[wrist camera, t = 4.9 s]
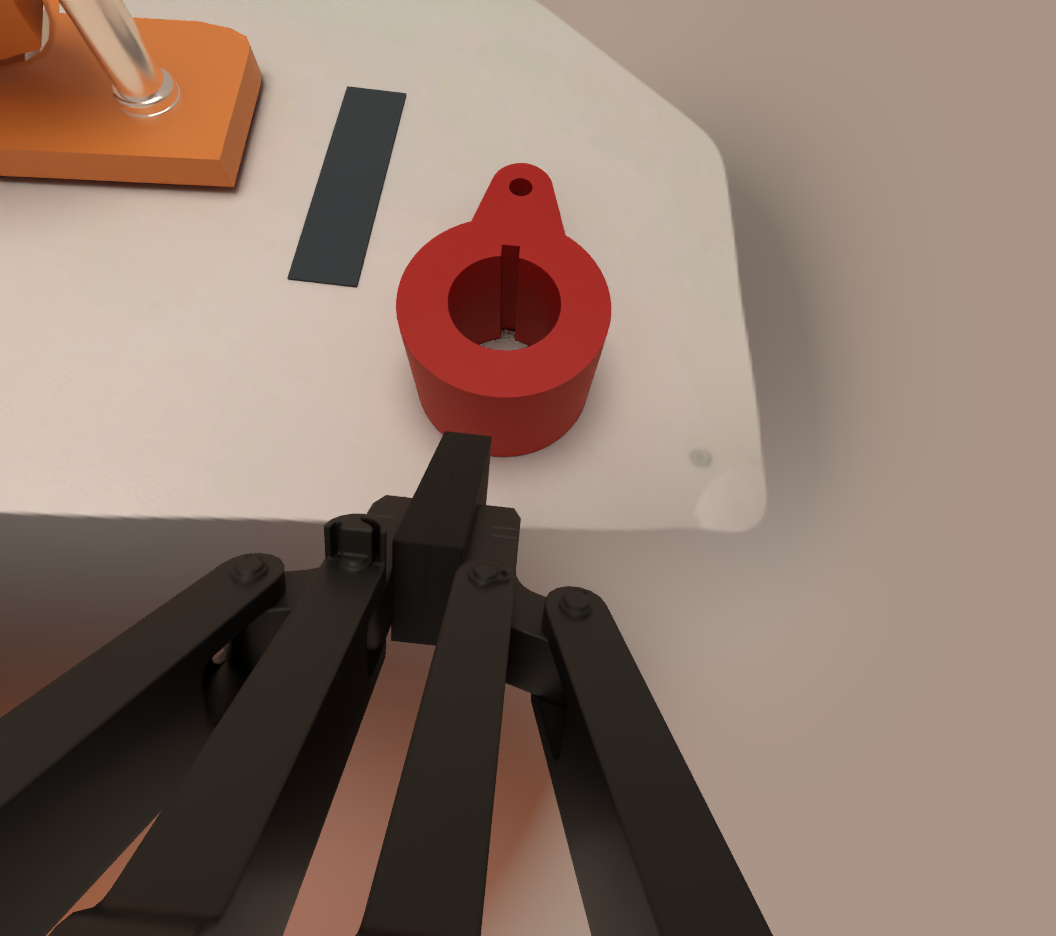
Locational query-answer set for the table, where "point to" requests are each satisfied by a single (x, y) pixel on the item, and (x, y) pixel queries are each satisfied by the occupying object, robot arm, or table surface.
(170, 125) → the desk clock
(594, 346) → the lever
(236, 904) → the robot arm
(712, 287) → the table surface
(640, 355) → the table surface
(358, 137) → the strip
